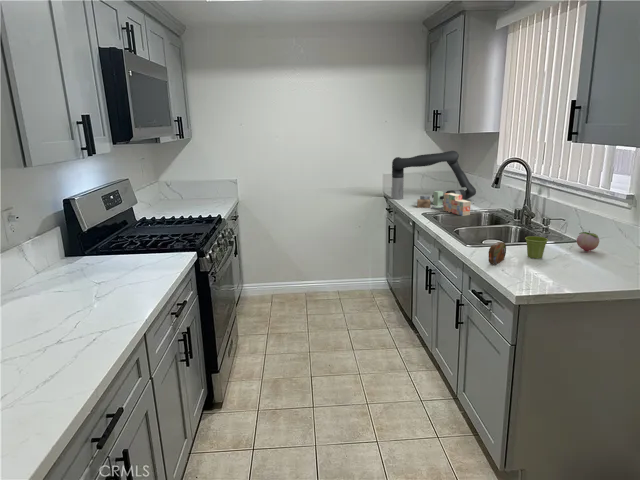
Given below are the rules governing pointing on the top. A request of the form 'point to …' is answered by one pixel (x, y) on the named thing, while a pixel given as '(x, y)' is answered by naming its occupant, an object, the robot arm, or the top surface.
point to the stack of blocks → (456, 204)
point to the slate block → (425, 197)
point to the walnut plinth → (423, 203)
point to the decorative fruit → (587, 241)
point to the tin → (497, 253)
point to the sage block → (437, 198)
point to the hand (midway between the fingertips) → (436, 197)
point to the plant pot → (535, 246)
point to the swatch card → (436, 207)
